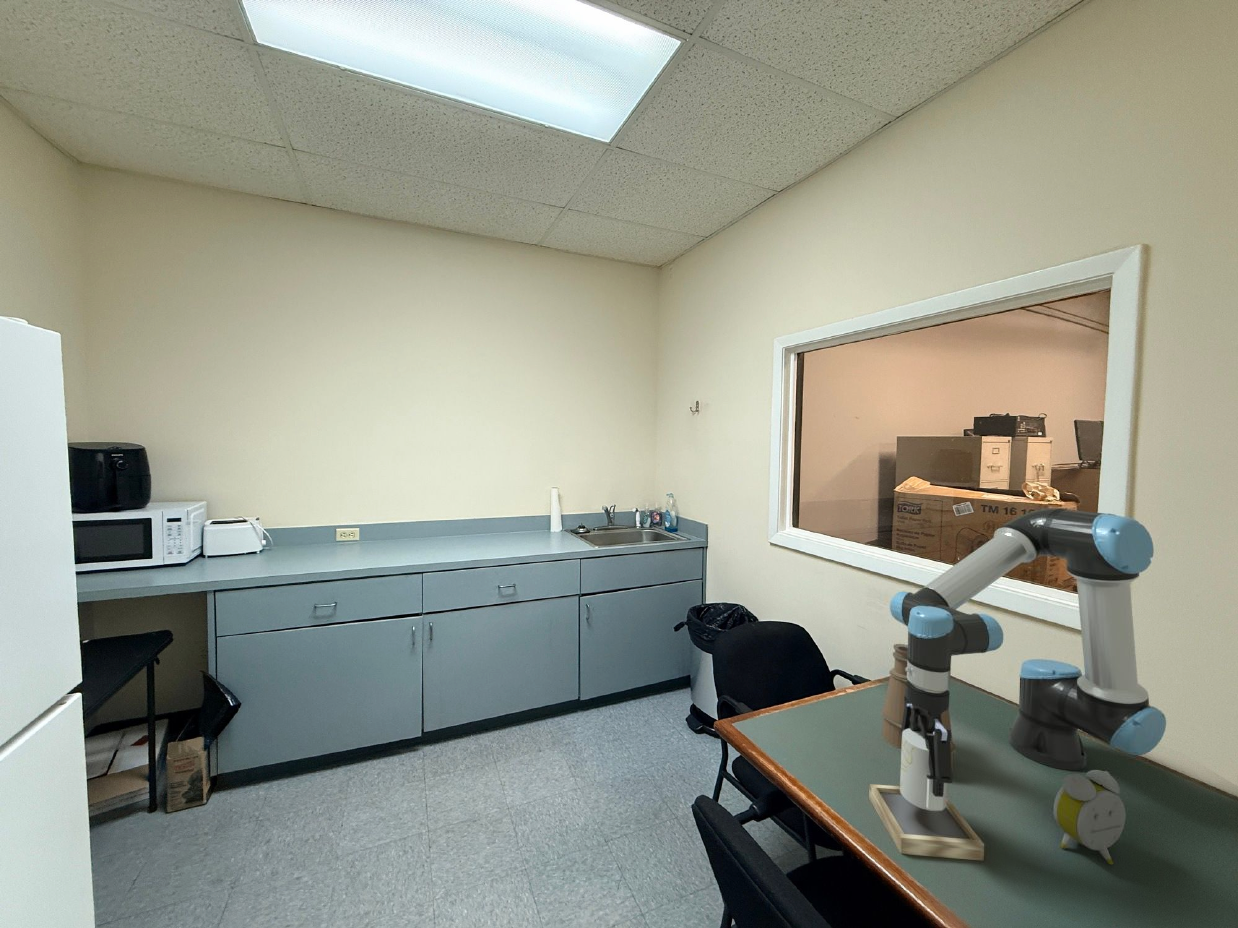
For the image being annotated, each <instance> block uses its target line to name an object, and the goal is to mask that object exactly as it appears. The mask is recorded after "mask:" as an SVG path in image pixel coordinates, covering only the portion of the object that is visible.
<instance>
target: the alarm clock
mask: <svg viewBox="0 0 1238 928" xmlns="http://www.w3.org/2000/svg"><path fill="white" fill-rule="evenodd" d="M1086 776H1087V777H1086ZM1119 794H1120V786H1119V783H1118V782H1117V781H1116V779H1115V778H1114V777H1113V776H1112V775H1111V774H1110V772H1109V771H1106V770H1105V771H1103V770H1099V769H1092V770H1089V771H1088V772H1086V774H1085V776H1083V775H1081V774H1078V773H1077V774H1076V773H1071V774H1068V775H1065V777H1064V778H1063V780H1062V786H1061V787H1060V788H1059V790H1058V792H1057V793H1056V796H1055V798H1054V804H1053V808H1052V809H1053V817H1054V821H1055V822H1056V824H1057V826H1058V827H1059V829H1061V830H1062V831H1063V832H1064V834H1063V837H1062V841H1061V843H1060V846H1059V847H1061V848H1062V849H1064V850H1066V849H1067V848H1068V847H1069V846H1070V845H1071V844H1072V843H1073V842H1074V841H1076V842H1078V843H1080V844H1081V845H1082V846H1084V847H1086V848H1088V849H1089V850H1093V851H1099V853H1100V854H1101V855H1102V857H1103V858H1104V860H1105V861H1106V862H1107V864H1108V865H1113V864H1114V862H1113V859H1112V857H1111V855H1110V852H1109V850H1108V848H1110V847H1112V846H1113V845H1115V843H1116V842H1117V841H1118V840H1119V839H1120V836H1121V835H1122V832H1123V831H1124V827H1125V823H1126V817H1127V816H1126V814H1127V813H1126V808H1125V805H1124V802H1123V801H1122V799H1121V798H1120V796H1118V795H1119Z"/></svg>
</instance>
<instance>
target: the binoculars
mask: <svg viewBox="0 0 1238 928" xmlns="http://www.w3.org/2000/svg"><path fill="white" fill-rule="evenodd" d="M893 649H894V651H893V652H892V656H893V658H894V667H893V668H891V669H890V671H889V672H888V673H889V675H890V676H889V680H888V684H887V690H886V694H885V695H886V696H885V700H884V705H883V708H882V709H881V710H880V714H881V716H882V724H881V725H882V729H881V738H882V739H883V740H884V741H885V742H886V743H887V744H889V745H891V746H893V747H896V748H898V749H900V750H902V737H901V727H902V720H903V713H904V696H906V682H907V681H908V679H907V672H906V670H905V668H906V667H907V661H908V658H907V657H908V644H904V643H894V644H893ZM941 719H942V726H943V727H944V729H949V730H950V731H951V734H952V725H951V717H950V709H949V708H948V709H947V710H946V711H944V712H943V713H942V714H941ZM950 747H951V766H952V767H953V762H954V759H953V758H954V752H956V745H955V743H954V742H953V735H951V742H950ZM953 771H954V770H953V769H952V775H954V774H953V773H954V772H953Z"/></svg>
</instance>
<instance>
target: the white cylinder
mask: <svg viewBox="0 0 1238 928" xmlns="http://www.w3.org/2000/svg"><path fill="white" fill-rule="evenodd" d="M927 735H933V734H927ZM900 750H901V752H900V753H901V755H900V779H899V780H900V781H899V786H900V792H901V794H902V796H903V797H904V798H905V799H906V800H907V801H909V802H910V803H912V804H913V805H915V806H917V807H920V808H922V809H925V810H930V811H940V810H931V809H928V808H927V807H926V798H927V775H930V769H929V750H928V749H927V748H926V742H925V739H923V738H922V733H921V732H918V731H912V730H911V729H910V728H909V729H905V730H904V731H903V732H902V749H900ZM947 793H948V783H944V792H943V809H944V808H945V807H946V797H947ZM947 798H948V797H947Z"/></svg>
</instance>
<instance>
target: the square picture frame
mask: <svg viewBox="0 0 1238 928" xmlns="http://www.w3.org/2000/svg"><path fill="white" fill-rule="evenodd" d="M868 789H869V790H868V791H869V792H868V798H869V800H870V802H871V805H872V806H873V807H874V809H875V811H876V813H877V814H878V816H879V818H880V820H881V821H882V824H883V825H884V826H885V828H886V830H887V832H888V834H889V836H890V838H891V840H893V843H894V845H895V846H896V848H897V851H898V852H899V853H900V854H901V855H910V856H911V855H913V856H921V857H922V856H924V857H926V856H927V857H936V858H946V859H947V858H949V859H961V860H970V861H971V860H973V861H982V862H983V861H984V859H985V858H984V856H985V843H984V842H983V841H982V839H981V838H980V837H979V836H978V834H977V833H976V832H975V831H974V829H973V828H972V827H971V826H970V825H969V823H968V822H967V820H966V819H965V818H964V817H963V815H962V814H961V813H960V812H959V810H958V809H957V808H956V806H955V805H954V804H953V803H952V802H951V800H950V799H949V797H946V807H945V808H944V809H943V810H940V811H930V810H925V809H922V808H920V807H917V806H915V805H913V804H912V803H910V802H909V801H907V800H906V799H905V798H904V797H903V796H902V794H901V792H900V785H884V784H875V783H874V784H872V783H870V784H869V788H868Z"/></svg>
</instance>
